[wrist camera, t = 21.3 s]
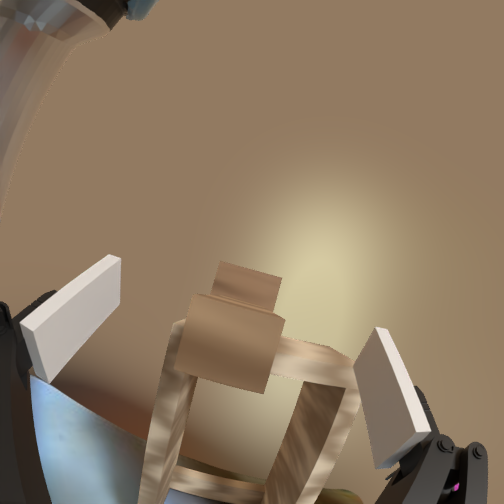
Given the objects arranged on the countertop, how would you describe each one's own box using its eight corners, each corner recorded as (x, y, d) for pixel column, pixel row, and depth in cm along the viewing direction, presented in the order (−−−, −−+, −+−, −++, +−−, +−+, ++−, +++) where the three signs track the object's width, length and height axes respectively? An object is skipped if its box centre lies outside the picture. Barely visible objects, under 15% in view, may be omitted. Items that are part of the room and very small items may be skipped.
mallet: (294, 400, 10) (335, 250, 11) (143, 358, 10) (185, 209, 11) (260, 329, 33) (273, 282, 34) (212, 316, 33) (225, 268, 34)
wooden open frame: (134, 532, 18) (173, 322, 23) (159, 480, 32) (199, 313, 36) (274, 561, 18) (371, 370, 22) (267, 505, 31) (328, 346, 36)
